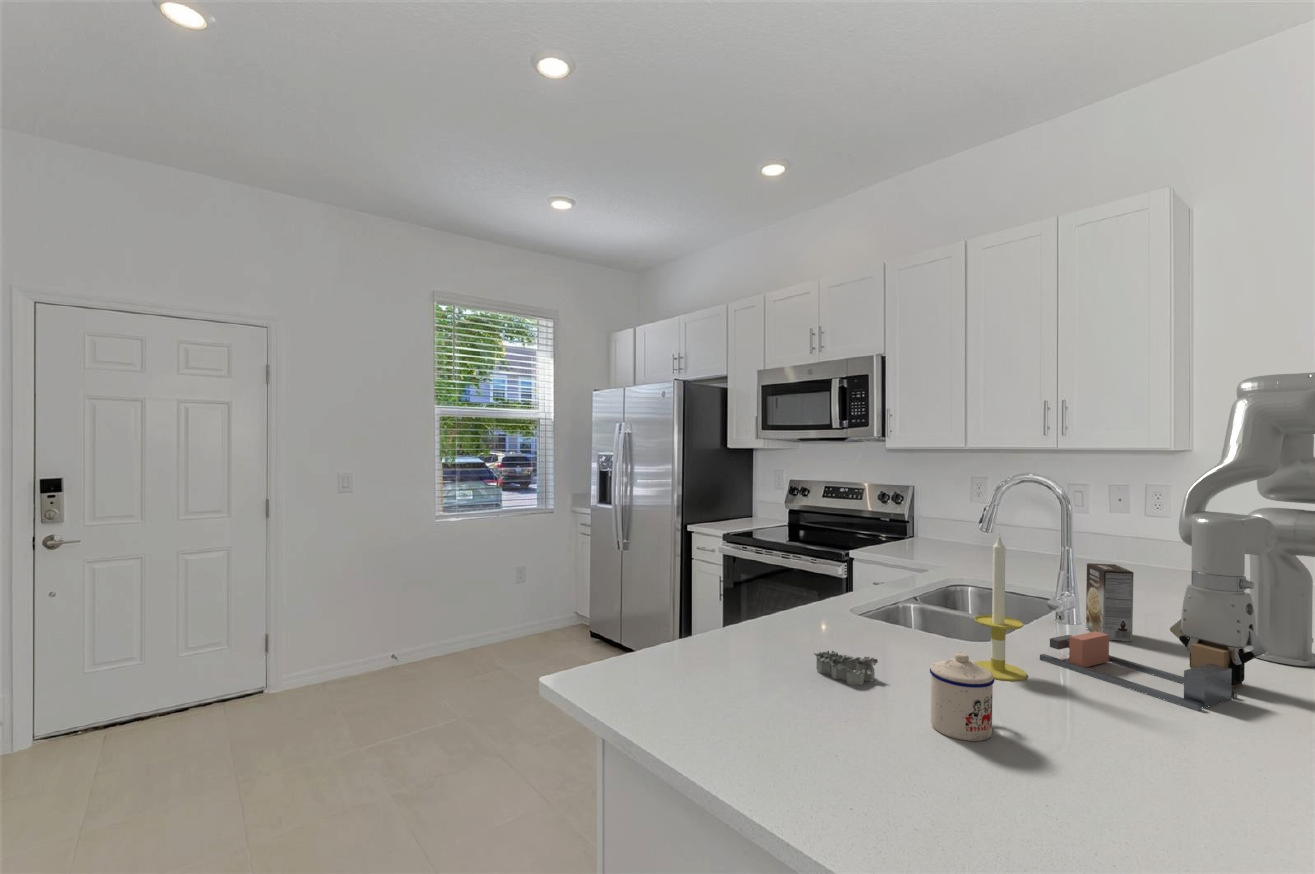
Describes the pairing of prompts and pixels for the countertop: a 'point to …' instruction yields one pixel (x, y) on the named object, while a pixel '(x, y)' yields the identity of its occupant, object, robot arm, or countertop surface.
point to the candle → (999, 623)
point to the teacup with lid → (961, 699)
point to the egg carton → (846, 667)
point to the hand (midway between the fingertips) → (1216, 677)
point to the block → (1210, 655)
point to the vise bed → (1199, 682)
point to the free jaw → (1084, 648)
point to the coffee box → (1109, 600)
